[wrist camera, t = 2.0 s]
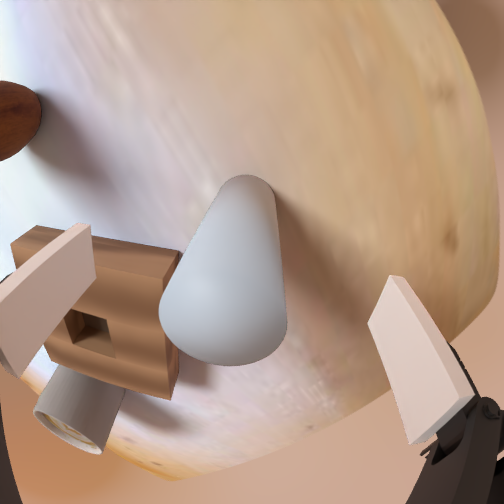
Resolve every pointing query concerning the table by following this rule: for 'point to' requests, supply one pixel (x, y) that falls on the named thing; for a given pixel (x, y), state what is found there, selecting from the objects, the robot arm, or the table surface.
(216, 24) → the table surface
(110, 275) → the bore block
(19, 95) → the wooden figurine
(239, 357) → the peg
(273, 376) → the table surface
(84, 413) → the coffee mug
